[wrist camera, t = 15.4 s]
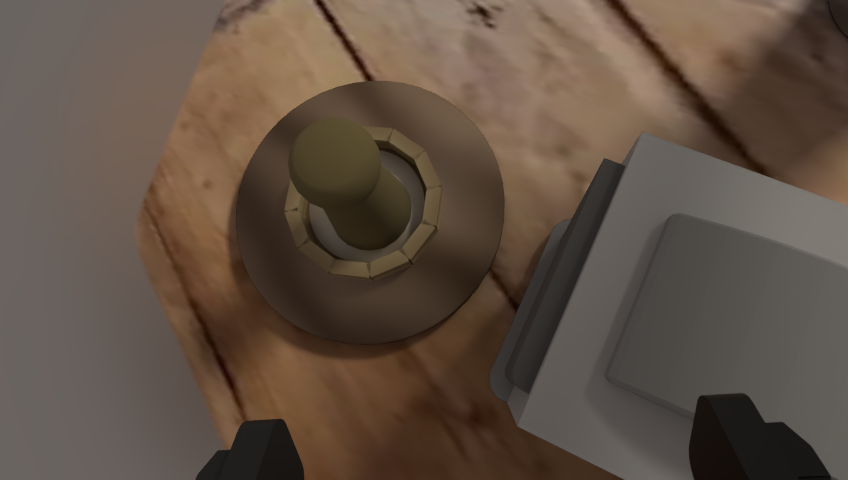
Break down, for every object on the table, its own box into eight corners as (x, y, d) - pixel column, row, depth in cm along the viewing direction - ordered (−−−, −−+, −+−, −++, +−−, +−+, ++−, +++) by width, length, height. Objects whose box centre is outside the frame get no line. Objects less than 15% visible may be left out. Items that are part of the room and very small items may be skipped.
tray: (352, 45, 45) (343, 25, 42) (558, 179, 40) (563, 165, 37) (192, 238, 42) (172, 229, 40) (391, 403, 38) (383, 406, 35)
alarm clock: (482, 389, 37) (474, 409, 20) (557, 218, 39) (611, 96, 22) (757, 524, 34) (1055, 699, 16) (824, 327, 36) (1154, 287, 18)
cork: (381, 266, 39) (339, 228, 28) (314, 223, 40) (250, 171, 29) (427, 196, 39) (403, 133, 29) (360, 156, 41) (313, 82, 30)
